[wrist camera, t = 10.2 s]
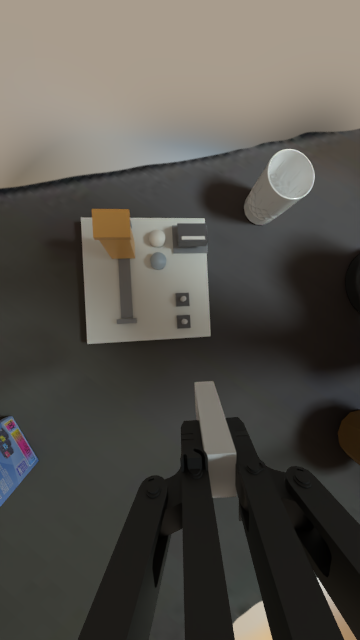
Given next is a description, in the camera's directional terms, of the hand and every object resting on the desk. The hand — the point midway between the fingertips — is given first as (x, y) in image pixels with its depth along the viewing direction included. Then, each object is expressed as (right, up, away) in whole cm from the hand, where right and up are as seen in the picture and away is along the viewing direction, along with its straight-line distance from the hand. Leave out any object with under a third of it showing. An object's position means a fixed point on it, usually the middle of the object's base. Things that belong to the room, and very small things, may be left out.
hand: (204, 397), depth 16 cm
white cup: (+14, +29, +26) cm, 41 cm away
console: (-8, +13, +23) cm, 28 cm away
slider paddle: (-12, +18, +19) cm, 29 cm away
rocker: (0, +21, +19) cm, 29 cm away
